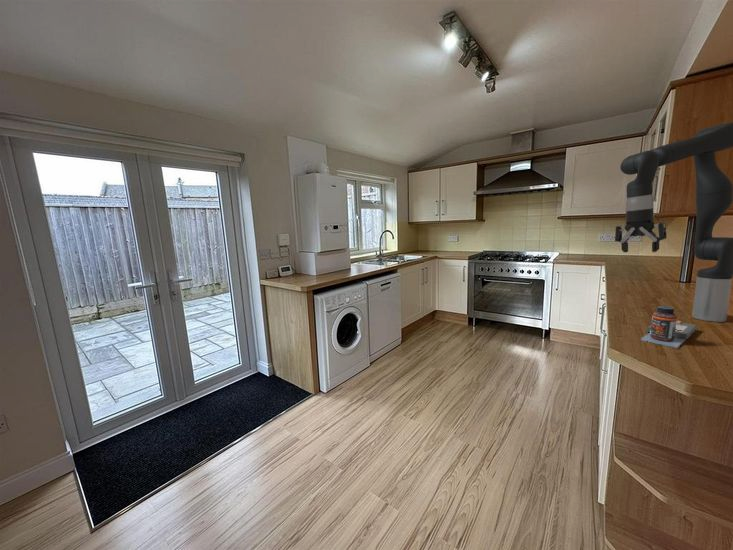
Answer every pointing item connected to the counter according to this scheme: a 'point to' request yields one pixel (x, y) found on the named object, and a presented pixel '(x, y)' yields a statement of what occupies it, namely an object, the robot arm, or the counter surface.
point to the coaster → (674, 343)
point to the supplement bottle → (663, 324)
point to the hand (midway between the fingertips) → (639, 252)
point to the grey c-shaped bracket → (686, 330)
